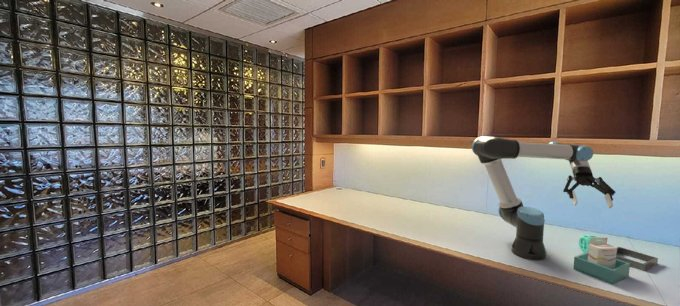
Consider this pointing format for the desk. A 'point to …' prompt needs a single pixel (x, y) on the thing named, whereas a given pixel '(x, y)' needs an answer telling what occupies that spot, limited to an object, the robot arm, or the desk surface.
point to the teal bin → (602, 269)
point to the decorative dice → (586, 242)
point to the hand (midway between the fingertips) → (593, 205)
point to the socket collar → (641, 266)
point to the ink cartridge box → (602, 253)
